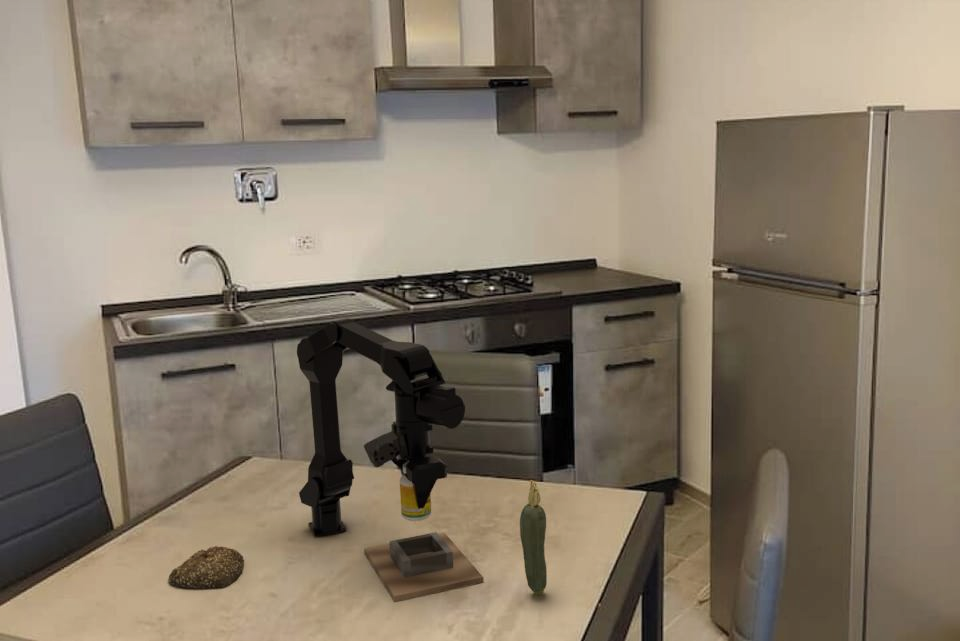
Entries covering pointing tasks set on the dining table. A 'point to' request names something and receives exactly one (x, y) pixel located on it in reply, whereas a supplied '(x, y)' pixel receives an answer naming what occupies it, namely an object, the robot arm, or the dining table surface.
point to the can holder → (421, 566)
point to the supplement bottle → (412, 501)
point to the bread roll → (208, 569)
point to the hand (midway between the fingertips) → (416, 502)
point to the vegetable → (534, 541)
